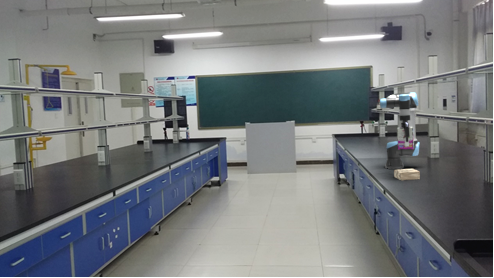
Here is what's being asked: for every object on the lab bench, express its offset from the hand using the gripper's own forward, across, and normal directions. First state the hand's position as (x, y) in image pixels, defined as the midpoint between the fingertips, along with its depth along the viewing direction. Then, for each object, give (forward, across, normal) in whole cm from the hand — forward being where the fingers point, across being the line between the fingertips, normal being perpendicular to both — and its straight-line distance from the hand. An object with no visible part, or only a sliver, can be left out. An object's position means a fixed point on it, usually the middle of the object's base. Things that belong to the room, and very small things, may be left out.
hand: (405, 145), depth 313 cm
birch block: (+25, 0, 0) cm, 25 cm away
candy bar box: (+3, 0, 0) cm, 3 cm away
